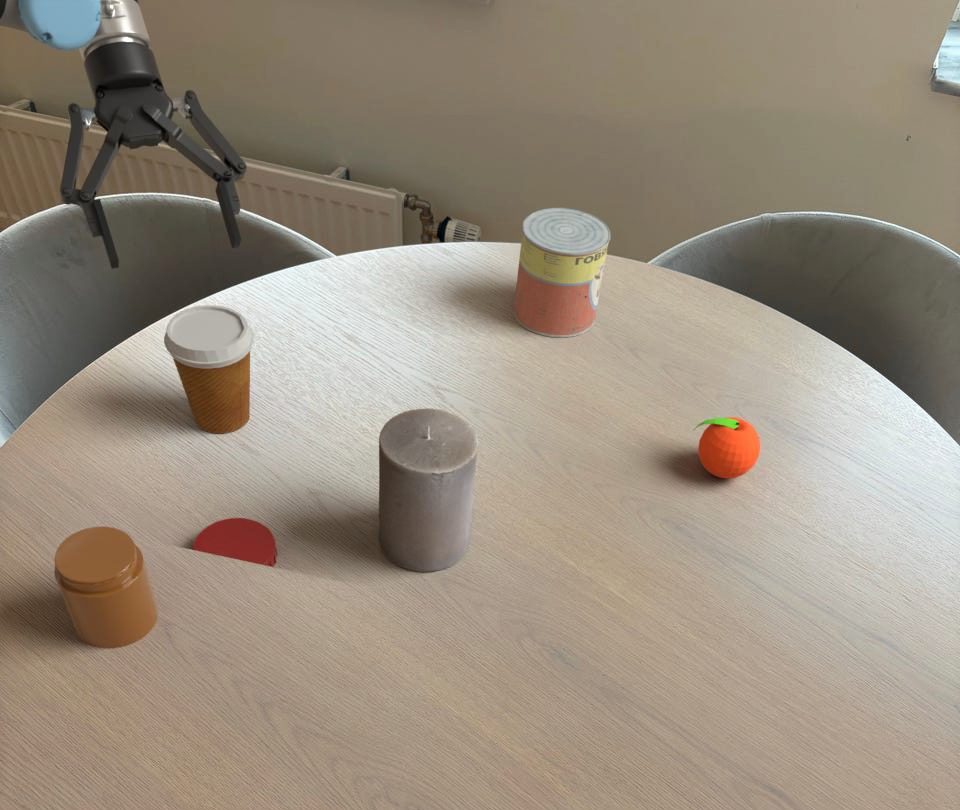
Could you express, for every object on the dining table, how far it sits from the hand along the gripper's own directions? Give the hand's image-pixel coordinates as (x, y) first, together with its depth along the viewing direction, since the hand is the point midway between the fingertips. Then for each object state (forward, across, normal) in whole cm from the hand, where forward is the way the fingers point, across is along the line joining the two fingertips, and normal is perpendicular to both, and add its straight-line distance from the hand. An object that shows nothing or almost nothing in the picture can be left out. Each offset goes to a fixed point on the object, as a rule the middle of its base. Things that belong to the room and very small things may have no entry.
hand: (177, 254), depth 110 cm
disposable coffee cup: (+18, 0, +3) cm, 18 cm away
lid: (+33, -5, -14) cm, 36 cm away
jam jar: (+38, -18, -17) cm, 45 cm away
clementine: (+39, +51, -18) cm, 66 cm away
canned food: (+14, +48, +7) cm, 50 cm away
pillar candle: (+38, +14, -16) cm, 43 cm away
